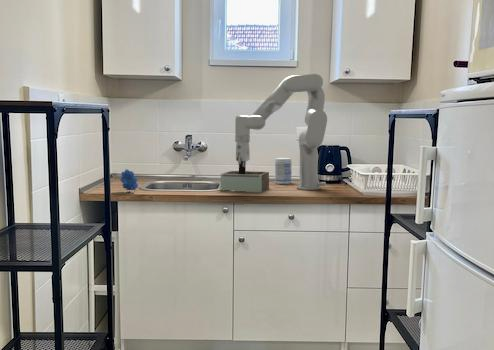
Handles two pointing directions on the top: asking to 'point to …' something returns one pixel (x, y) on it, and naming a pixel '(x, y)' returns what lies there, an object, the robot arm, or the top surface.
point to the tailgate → (241, 182)
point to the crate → (264, 174)
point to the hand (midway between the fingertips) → (242, 174)
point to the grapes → (129, 180)
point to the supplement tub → (283, 170)
